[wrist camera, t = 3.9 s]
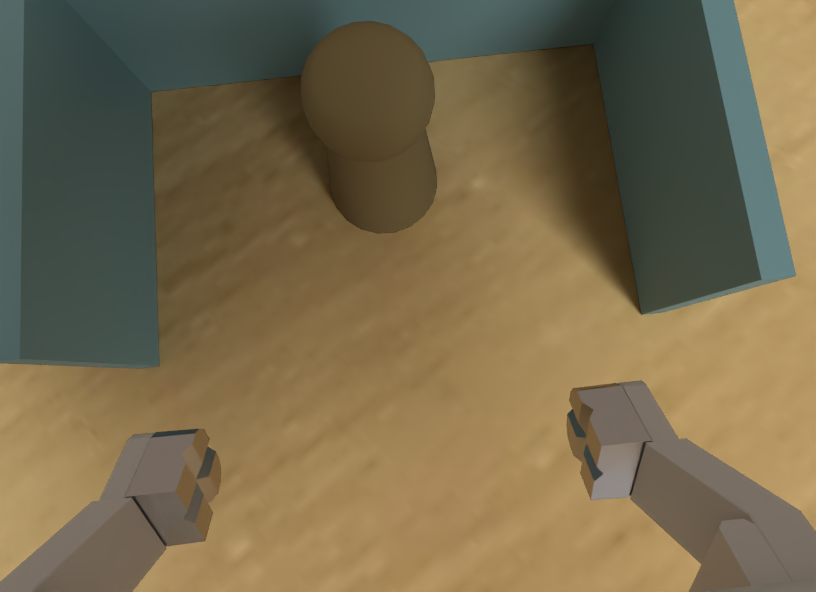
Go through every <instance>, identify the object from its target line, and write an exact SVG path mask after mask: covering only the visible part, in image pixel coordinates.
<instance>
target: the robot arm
mask: <svg viewBox="0 0 816 592" xmlns="http://www.w3.org/2000/svg"><path fill="white" fill-rule="evenodd" d="M569 401H570V403H571V406H572V408H573V409H572V410H571V411H570V412H569V413H568V414H567V424H566V425H567V435H568V440H569V444H570V447H571V450H572V453H573V455H574V456H575V457H576V458H577V459H578V460H580V461H581V462H582V466H581V472H580V474H581V476H582V479H583V481H584V484H585V487H586V489H587V492H588V494H589V497H590V499H591V500H600V499H612V498H625V497H631V500H632V501H633V502H634V503H635V504H636V505H637V506H638V507H640V508H641V509H642V510H643V511H644V512H645V513H646V514H647V515H648V516H649V517H650V518H652V519H653V520H654V521H655V522H656V523H657V524H658V525H659V526H660V527H661V528H662V529H664V530H665V531H666V532H667V533H668V534H669V535H670V536H671V537H672V538H673V539H674V540H676V541H677V542H678V543H679V544H680V545H681V546H682V547H683V548H684V549H685V550H686V551H688V552H689V553H690V554H691V555H692V556H693V557H694V558H695V559H696V560H697V561H698V562H699V563H701V567H700V569H699V571H698V573H697V575H696V577H695V579H694V582H693V584H692V586H691V588H690V590H689V592H816V531H815V530H814V529H813V527H812V526H811V525H810V523H809V522H808V520H807V519H806V518H805V516H804V515H803V514H802V512H801V511H800V510H798V509H797V508H795V507H793V506H792V505H790V504H789V503H787V502H786V501H784V500H782V499H781V498H779V497H778V496H776V495H775V494H773V493H771V492H770V491H768V490H767V489H765V488H764V487H762V486H760V485H759V484H757V483H756V482H754V481H752V480H751V479H749V478H748V477H746V476H745V475H743V474H741V473H740V472H738V471H737V470H735V469H734V468H732V467H730V466H729V465H727V464H726V463H724V462H722V461H721V460H719V459H718V458H716V457H715V456H713V455H711V454H710V453H708V452H707V451H705V450H704V449H702V448H700V447H699V446H697V445H696V444H694V443H693V442H691V441H689V440H688V439H686V438H685V439H679V438H678V436H677V435H676V433H675V431H674V430H673V428H672V426H671V425H670V423H669V422H668V420H667V418H666V417H665V415H664V413H663V412H662V410H661V408H660V407H659V405H658V403H657V402H656V400H655V398H654V397H653V395H652V393H651V392H650V390H649V388H648V387H647V385H646V384H645V383H644V382H643V381H632V382H623V383H618V384H617V383H612V384H603V385H595V386H587V387H578V388H573V389H572V390H571V392H570V398H569ZM209 439H210V438H209V437H208V435H207V433H206V431H205V429H191V430H178V431H166V432H156V433H146V434H134V435H132V436H131V437H130V438H129V439H128V440H127V442H126V444H125V446H124V448H123V450H122V453H121V455H120V457H119V459H118V461H117V463H116V465H115V467H114V470H113V472H112V474H111V476H110V478H109V480H108V482H107V485H106V487H105V489H104V491H103V493H102V495H101V497H100V500H99V501H94V502H91V503H90V504H89V505H88V506H87V507H85V508H84V509H83V510H82V511H81V512H80V513H79V514H77V515H76V516H75V517H74V518H73V519H72V520H71V521H69V522H68V523H67V524H66V525H65V526H64V527H63V528H61V529H60V530H59V531H58V532H57V533H56V534H55V535H53V536H52V537H51V538H50V539H49V540H48V541H47V542H45V543H44V544H43V545H42V546H41V547H40V548H39V549H37V550H36V551H35V552H34V553H33V554H32V555H31V556H29V557H28V558H27V559H26V560H25V561H24V562H23V563H21V564H20V565H19V566H18V567H17V568H16V569H15V570H13V571H12V572H11V573H10V574H9V575H8V576H7V577H5V578H4V579H3V580H2V581H1V582H0V592H132V591H133V590H134V589H135V587H136V586H137V585H138V584H139V582H140V581H141V580H142V579H143V577H144V576H145V575H146V574H147V572H148V571H149V570H150V569H151V567H152V566H153V565H154V564H155V562H156V561H157V560H158V559H159V557H160V556H161V555H162V554H163V552H164V551H165V550H166V546H173V545H180V544H188V543H195V542H203V541H205V540H206V537H207V533H208V529H209V525H210V522H211V518H212V514H213V512H212V510H211V508H210V506H209V503H210V502H211V501H212V500H213V498H214V497H215V496H216V495H217V494H218V491H219V487H220V483H221V465H220V460H219V457H218V455H217V453H216V451H214V450H212V449H210V448H209V447H207V446H208V443H209Z"/></svg>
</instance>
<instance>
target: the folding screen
mask: <svg viewBox="0 0 816 592" xmlns="http://www.w3.org/2000/svg"><path fill="white" fill-rule="evenodd" d="M362 21H374V22H379V23H383V24H388V25H390V26H392V27H394V28H396V29H397V30H399V31H401V32H403V33H404V34H406V35H408V36H409V37H411V38H412V39H413V41H414V42H415V43H416V44H417V45H418V46H419V47H420V48H421V49H422V51H423V52H424V55H425V57H426V59H427V62H430V61H439V60H449V59H458V58H467V57H476V56H485V55H495V54H504V53H513V52H522V51H531V50H541V49H550V48H559V47H568V46H577V45H587V44H594V49H595V55H596V61H597V66H598V72H599V78H600V83H601V89H602V95H603V100H604V106H605V111H606V117H607V123H608V128H609V134H610V140H611V145H612V151H613V157H614V162H615V168H616V174H617V179H618V185H619V191H620V196H621V202H622V208H623V213H624V219H625V224H626V230H627V236H628V241H629V247H630V253H631V258H632V264H633V270H634V275H635V281H636V287H637V292H638V298H639V304H640V309H641V315H643V314H652V313H661V312H666V311H670V310H674V309H677V308H681V307H685V306H688V305H692V304H696V303H699V302H703V301H707V300H710V299H714V298H717V297H721V296H725V295H728V294H732V293H736V292H739V291H743V290H747V289H750V288H754V287H758V286H761V285H765V284H768V283H772V282H776V281H779V280H783V279H787V278H790V277H794V276H796V274H795V269H794V265H793V260H792V256H791V251H790V247H789V243H788V238H787V234H786V229H785V225H784V221H783V216H782V212H781V207H780V203H779V198H778V194H777V190H776V185H775V181H774V176H773V172H772V168H771V163H770V159H769V154H768V150H767V146H766V141H765V137H764V132H763V128H762V123H761V119H760V115H759V110H758V106H757V101H756V97H755V93H754V88H753V84H752V79H751V75H750V70H749V66H748V62H747V57H746V53H745V48H744V44H743V40H742V35H741V31H740V26H739V22H738V18H737V13H736V9H735V4H734V0H0V363H8V364H34V365H59V366H85V367H111V368H136V369H137V368H147V367H156V366H159V341H158V308H157V274H156V241H155V208H154V174H153V141H152V108H151V92H154V91H163V90H172V89H181V88H191V87H200V86H209V85H218V84H227V83H237V82H246V81H255V80H264V79H274V78H283V77H292V76H301V75H302V72H303V69H304V66H305V63H306V60H307V57H308V56H309V55H310V53H311V52H312V51H313V49H314V48H315V47H316V45H317V44H318V42H319V41H320V40H321V39H322V38H324V37H325V36H326V35H328V34H329V33H330V32H332V31H333V30H334V29H336V28H338V27H341V26H344V25H346V24H349V23H352V22H362Z"/></svg>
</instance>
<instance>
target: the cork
mask: <svg viewBox="0 0 816 592" xmlns="http://www.w3.org/2000/svg"><path fill="white" fill-rule="evenodd" d="M434 100H435V90H434V76H433V74H432V71H431V69H430V66H429V64H428V62H427V59H426V57H425V55H424V52H423V51H422V49H421V48H420V47H419V46H418V45H417V44H416V43H415V42H414V41H413V39H412V38H411V37H409V36H408V35H406V34H404V33H403V32H401V31H399V30H397V29H396V28H394V27H392V26H390V25H388V24H383V23H379V22H374V21H362V22H352V23H349V24H346V25H344V26H341V27H338V28H336V29H334V30H333V31H332V32H330V33H329V34H328V35H326V36H325V37H324V38H322V39H321V40H320V41H319V42H318V44H317V45H316V47H315V48H314V49H313V51H312V52H311V53H310V55H309V56H308V57H307V60H306V63H305V66H304V69H303V72H302V75H301V104H302V107H303V110H304V112H305V115H306V118H307V120H308V123H309V125H310V127H311V129H312V130H313V132H314V133H315V134H316V135H317V136H318V138H319V139H320V140H321V141H322V142H323V144H324V145H326V146H327V156H328V166H329V176H330V186H331V194H332V196H333V199H334V202H335V204H336V207H337V209H338V210H339V211H340V212H341V213H342V215H343V216H344V217H345V218H346V220H347V221H349V222H351V223H352V224H354V225H355V226H357V227H359V228H360V229H362V230H366V231H370V232H374V233H394V232H397V231H400V230H402V229H405V228H408V227H410V226H412V225H413V224H414V223H416V222H417V221H418V220H419V219H421V218H422V217H423V216H424V215H425V213H426V212H427V210H428V209H429V207H430V206H431V204H432V203H433V200H434V196H435V193H436V189H437V177H436V168H435V164H434V160H433V157H432V153H431V149H430V145H429V141H428V137H427V133H426V129H425V128H426V126H427V125H428V123H429V120H430V117H431V113H432V110H433V106H434Z"/></svg>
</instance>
